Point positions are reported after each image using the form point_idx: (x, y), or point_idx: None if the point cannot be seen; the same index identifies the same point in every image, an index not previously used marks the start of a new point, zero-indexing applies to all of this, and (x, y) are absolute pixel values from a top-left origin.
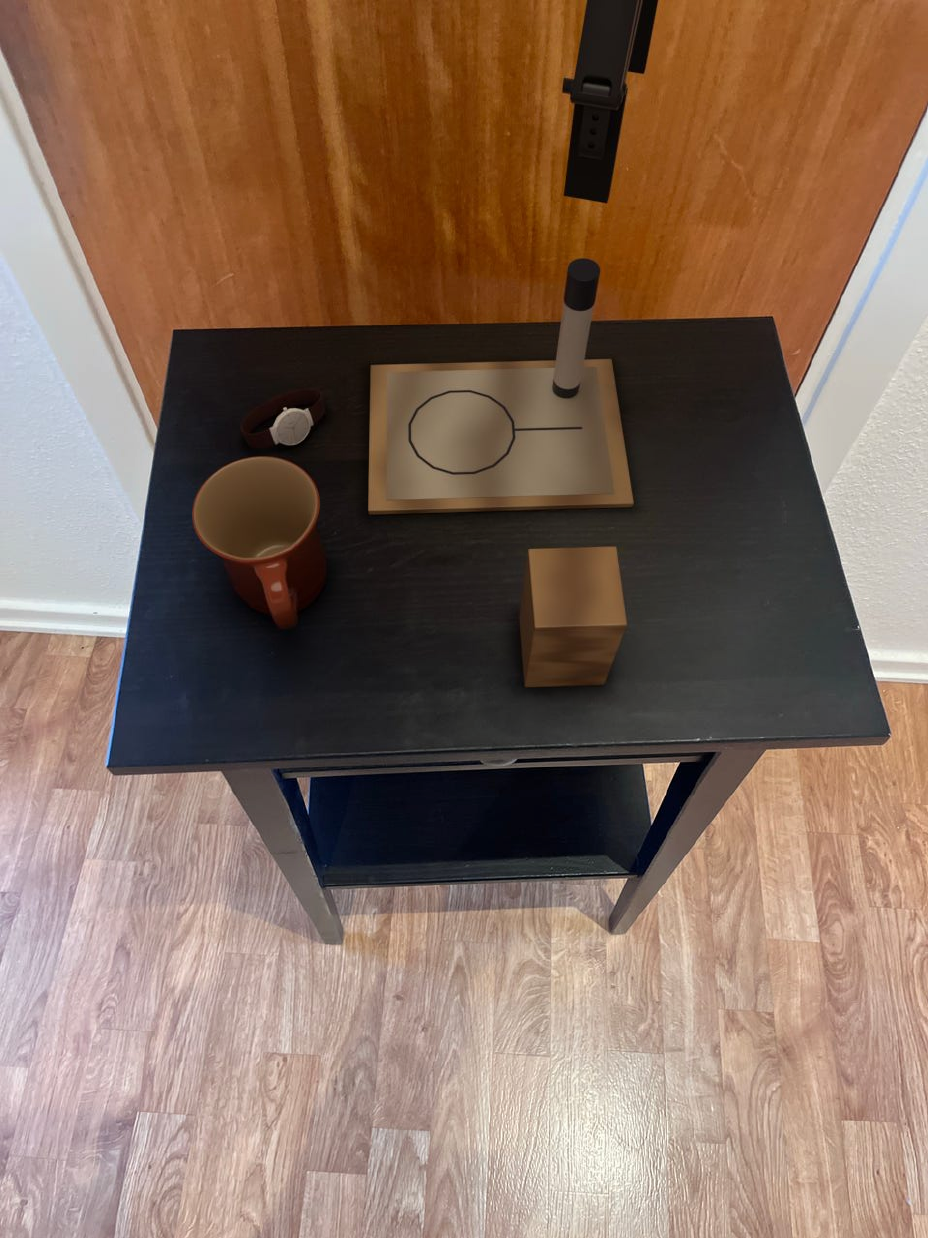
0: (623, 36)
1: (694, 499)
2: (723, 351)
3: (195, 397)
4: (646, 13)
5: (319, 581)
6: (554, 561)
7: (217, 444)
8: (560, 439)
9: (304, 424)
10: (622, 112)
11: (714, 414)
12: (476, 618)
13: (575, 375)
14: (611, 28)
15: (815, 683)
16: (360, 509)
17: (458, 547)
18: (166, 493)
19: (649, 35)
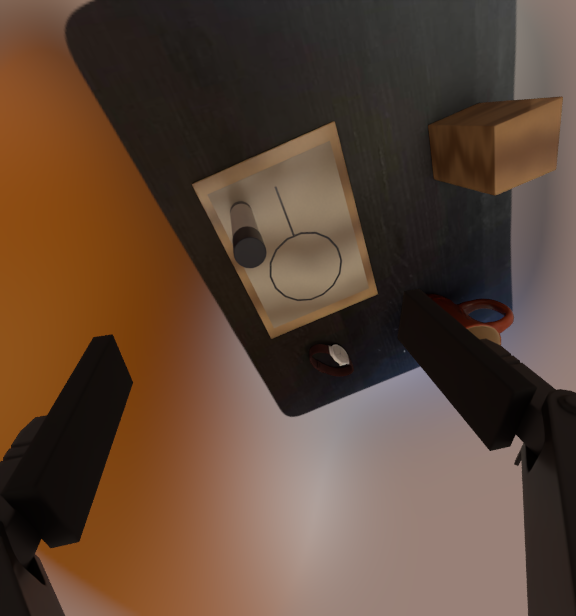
0: None
1: (311, 63)
2: (118, 69)
3: (321, 398)
4: (84, 412)
5: (441, 298)
6: (506, 172)
7: (347, 376)
8: (291, 199)
9: (335, 350)
10: (511, 367)
11: (207, 62)
12: (436, 205)
13: (250, 210)
14: None
15: None
16: (373, 297)
17: (389, 235)
18: (381, 379)
19: (94, 376)
